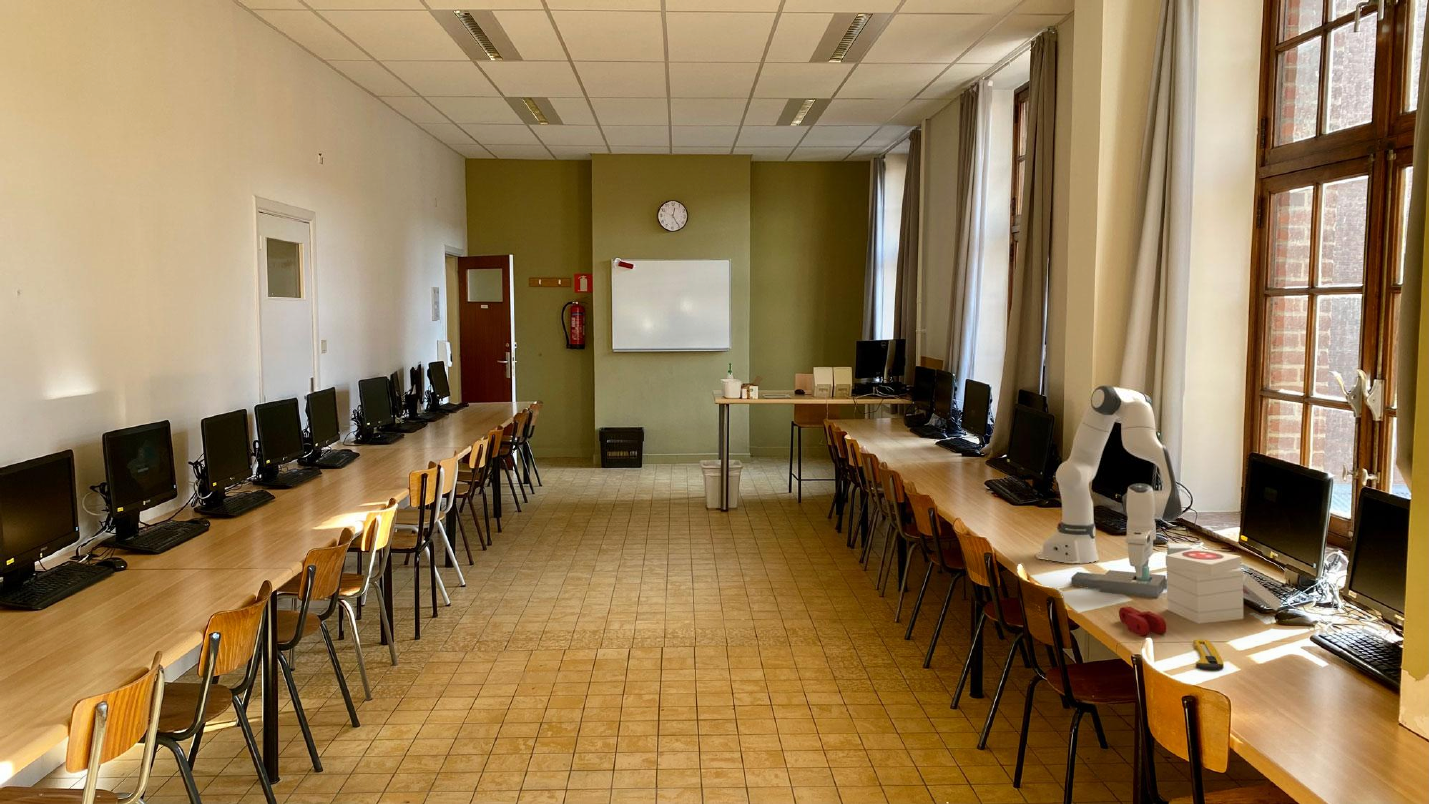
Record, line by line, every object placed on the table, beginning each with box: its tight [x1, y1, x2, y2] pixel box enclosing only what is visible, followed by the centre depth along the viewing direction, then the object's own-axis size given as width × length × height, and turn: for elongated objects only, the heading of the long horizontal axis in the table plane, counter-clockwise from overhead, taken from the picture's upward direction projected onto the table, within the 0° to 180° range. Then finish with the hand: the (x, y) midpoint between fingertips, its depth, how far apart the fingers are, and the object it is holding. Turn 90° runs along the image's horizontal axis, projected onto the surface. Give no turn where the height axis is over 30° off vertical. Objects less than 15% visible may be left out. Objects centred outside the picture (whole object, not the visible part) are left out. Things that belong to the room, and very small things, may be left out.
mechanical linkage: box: [1118, 606, 1167, 637], centre depth 280 cm, size 16×7×5 cm, turn 9°
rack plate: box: [1070, 569, 1167, 599], centre depth 322 cm, size 28×14×4 cm, turn 55°
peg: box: [1136, 565, 1150, 582], centre depth 317 cm, size 4×4×8 cm
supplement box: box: [1166, 542, 1194, 555], centre depth 325 cm, size 7×7×13 cm
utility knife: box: [1193, 638, 1224, 672], centre depth 255 cm, size 7×22×2 cm, turn 162°
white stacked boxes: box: [1165, 547, 1283, 625], centre depth 290 cm, size 19×30×18 cm, turn 98°
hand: (1142, 573), depth 317 cm, fingers open, 7 cm apart
